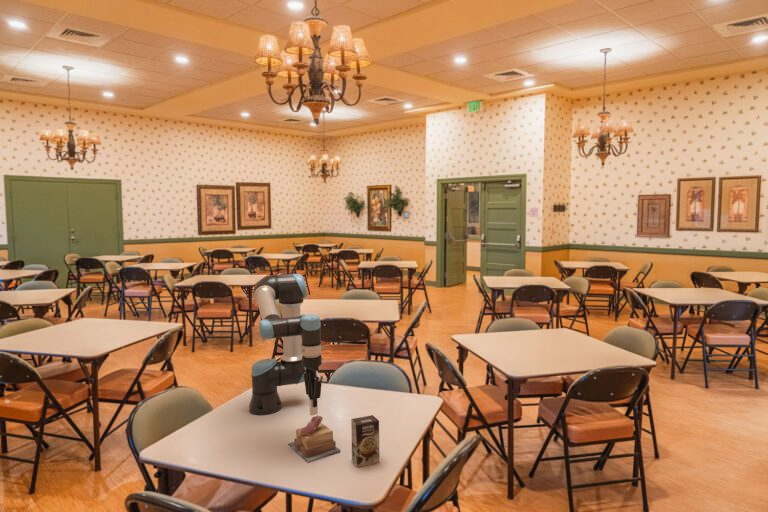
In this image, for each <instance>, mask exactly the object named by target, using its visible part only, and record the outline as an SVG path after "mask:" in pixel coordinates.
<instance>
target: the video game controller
mask: <svg viewBox="0 0 768 512" xmlns="http://www.w3.org/2000/svg"><path fill="white" fill-rule="evenodd" d="M323 419H324V417H323V416H321V415H318V414H316V415H314V416H313V417H311V418H310V420H309V422H308V423H307V424H306V426H304V427H305V428H304V427H302V428H303V429H302V430H301V435H307V434H308V433H311V434H312V433H313V431H314V430H316V429H317V428H318V426H319V424H320V423H322V421H323Z"/></svg>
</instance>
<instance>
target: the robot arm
mask: <svg viewBox="0 0 768 512" xmlns="http://www.w3.org/2000/svg"><path fill="white" fill-rule="evenodd" d="M307 295H308V292H307V285H306V281H305V279H304V276H303V275H302V274H300V273H285V274H276V275H275V274H274V275H273V274H272V275H271V274H270V275H267V276H265V277H263V278H261V279H260V280H259V281H258V282H257V283H256V284H255V286H254V288H253V292H252V296H253V299H254V301H255V302H256V303H257V306H258V309H259V313H260V318H261V320H260V321H259V322H258V331H259V332H258V333H259V337H260V338H261V339H263V340H266V339H267V340H271V339H278V338H282V341H283V342H282V344H283V354H282V355H281V356H280V360H279V361H277V360H276V359H275V358H264V359H261V360H257V361H255V363H253V364H252V366H251V374H250V375H251V390H252V391H251V392H252V395H251V398H250V402H249V406H248V408H249V409H248V411H249V412H250V413H251V414H253V415H258V416H261V415H262V416H264V415H271V414H275V413H276V412H279V411H280V410H282V401H281V398H280V395H279V393H278V387H281V386H289V385H291V386H292V385H298V384H302V383H304V387H305V393H306V395H307V397H308V399H309V402H308V403H309V415H310V416H316V415H318V413H319V411H318V410H319V409H318V399H321V396H322V395H321V394H322V393H321V392H322V391H321V390H322V382H323V378H324V376H323V375H320V369H319V368H320V366H321V365H322V364H323V363H322V361H323V360H322V357H323V356H322V339H321V338H322V337H321V335H322V334H321V333H322V331H321V325H322V323H321V316H319V315H318V314H301V305H302V304H303V303H304V299H305V298H307V297H308V296H307ZM276 300H277V301H278V304H279V305H280V306H281V310H282V313H281V314H282V317H281V314H280V311H279V308H278V305H277V301H276Z"/></svg>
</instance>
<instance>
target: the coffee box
mask: <svg viewBox="0 0 768 512" xmlns="http://www.w3.org/2000/svg"><path fill="white" fill-rule="evenodd" d="M350 422H351V423H350V424H351V429H350V430H351V460H352V462H353V463H354V465H355V466H356V468H360V467H361V468H362V467H365V466H368V465H374V464H379V463H380V454H381V452H380V420H379V419H378V418H377V417H375V416H374V414H373V415H372V414H371V415H366V416H360V417H355V418H351V420H350Z"/></svg>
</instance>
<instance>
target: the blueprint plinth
mask: <svg viewBox="0 0 768 512" xmlns="http://www.w3.org/2000/svg"><path fill="white" fill-rule="evenodd" d="M305 427H306V426H304V427H302V428H301V427H300V428H297V429H296V430H295V432H296V433H295V434H296V435H295V437H296V438H294V440H293V441H292V442H289V443H287V445H288V447H289V446H290V449H292V450H293V452H295V453H296V454H297V455H298V456H299V457H300V458H302V459H303V460H304V461H305V462H306V463H307V464H309V463H313V462H315V461H318V460H322V459H325V458H327V457H330V456H333V455H336V454H338V453H341V449H340V448H339V447H337V446H336V443H337V442H336V441H335V440H334V431H333V430H332V429H331V428H329V427H327V425H325V424H324V423H323V422H321V423H320V424H319V426H318V428H317V429H316V430H314V431H313V433H312V434H311V433H308V434H307V435H301V430H302V429H303V428H305Z"/></svg>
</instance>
